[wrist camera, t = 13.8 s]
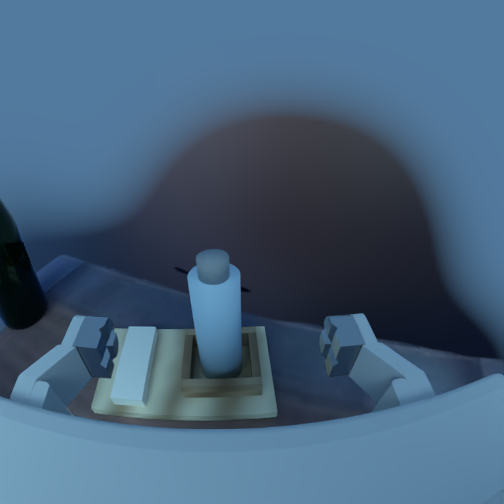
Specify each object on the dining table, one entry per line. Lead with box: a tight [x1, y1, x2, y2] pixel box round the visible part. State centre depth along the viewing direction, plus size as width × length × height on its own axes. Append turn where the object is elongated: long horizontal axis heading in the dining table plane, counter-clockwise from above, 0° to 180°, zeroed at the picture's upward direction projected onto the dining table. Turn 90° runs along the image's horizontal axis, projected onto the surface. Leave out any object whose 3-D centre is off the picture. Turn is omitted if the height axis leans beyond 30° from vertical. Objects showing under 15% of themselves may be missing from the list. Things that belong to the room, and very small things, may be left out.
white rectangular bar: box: [110, 326, 158, 407], centre depth 35 cm, size 4×12×2 cm, turn 4°
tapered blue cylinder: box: [187, 249, 242, 379], centre depth 32 cm, size 5×5×16 cm
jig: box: [91, 326, 278, 420], centre depth 35 cm, size 22×14×4 cm, turn 94°
